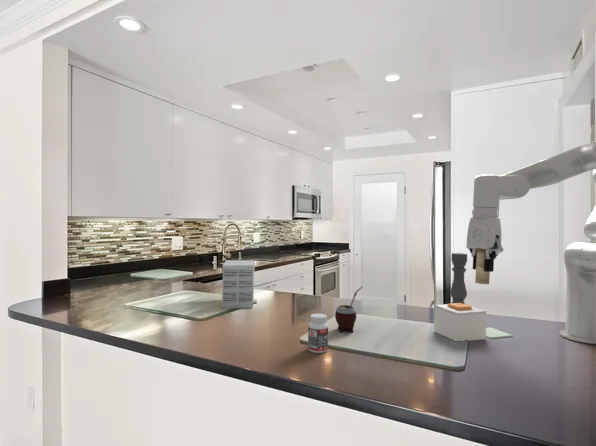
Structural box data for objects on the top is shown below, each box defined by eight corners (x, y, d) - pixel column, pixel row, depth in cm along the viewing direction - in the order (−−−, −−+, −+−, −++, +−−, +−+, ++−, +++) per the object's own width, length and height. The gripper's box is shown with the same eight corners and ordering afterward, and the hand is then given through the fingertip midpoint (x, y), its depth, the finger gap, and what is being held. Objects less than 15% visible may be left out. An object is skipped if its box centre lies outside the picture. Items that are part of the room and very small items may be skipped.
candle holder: (468, 319, 140) (469, 254, 139) (451, 318, 141) (452, 253, 141) (464, 315, 146) (465, 253, 146) (448, 314, 147) (449, 252, 147)
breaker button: (460, 311, 124) (460, 302, 124) (471, 315, 119) (471, 306, 119) (448, 312, 122) (448, 303, 122) (458, 316, 117) (458, 307, 117)
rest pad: (490, 328, 129) (490, 327, 129) (512, 336, 120) (512, 335, 120) (469, 330, 126) (469, 329, 126) (490, 338, 117) (490, 337, 117)
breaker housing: (460, 329, 127) (461, 303, 127) (485, 339, 117) (486, 311, 117) (434, 331, 124) (434, 305, 124) (457, 342, 114) (457, 313, 114)
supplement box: (224, 299, 168) (225, 260, 167) (254, 299, 169) (254, 260, 169) (221, 308, 150) (221, 264, 150) (253, 308, 152) (254, 265, 152)
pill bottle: (321, 355, 101) (322, 319, 101) (304, 350, 104) (304, 316, 104) (331, 349, 106) (331, 314, 106) (314, 345, 109) (314, 311, 109)
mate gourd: (330, 330, 123) (331, 286, 123) (344, 325, 129) (345, 283, 129) (349, 335, 118) (350, 289, 118) (362, 330, 124) (363, 286, 124)
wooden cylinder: (482, 282, 120) (483, 248, 120) (492, 284, 116) (493, 249, 116) (472, 282, 119) (474, 248, 119) (482, 284, 115) (483, 249, 115)
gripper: (457, 213, 124) (454, 266, 124) (498, 213, 108) (495, 274, 109) (474, 214, 127) (472, 266, 127) (517, 214, 111) (514, 274, 111)
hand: (482, 269), depth 118 cm, fingers closed on wooden cylinder, 4 cm apart
